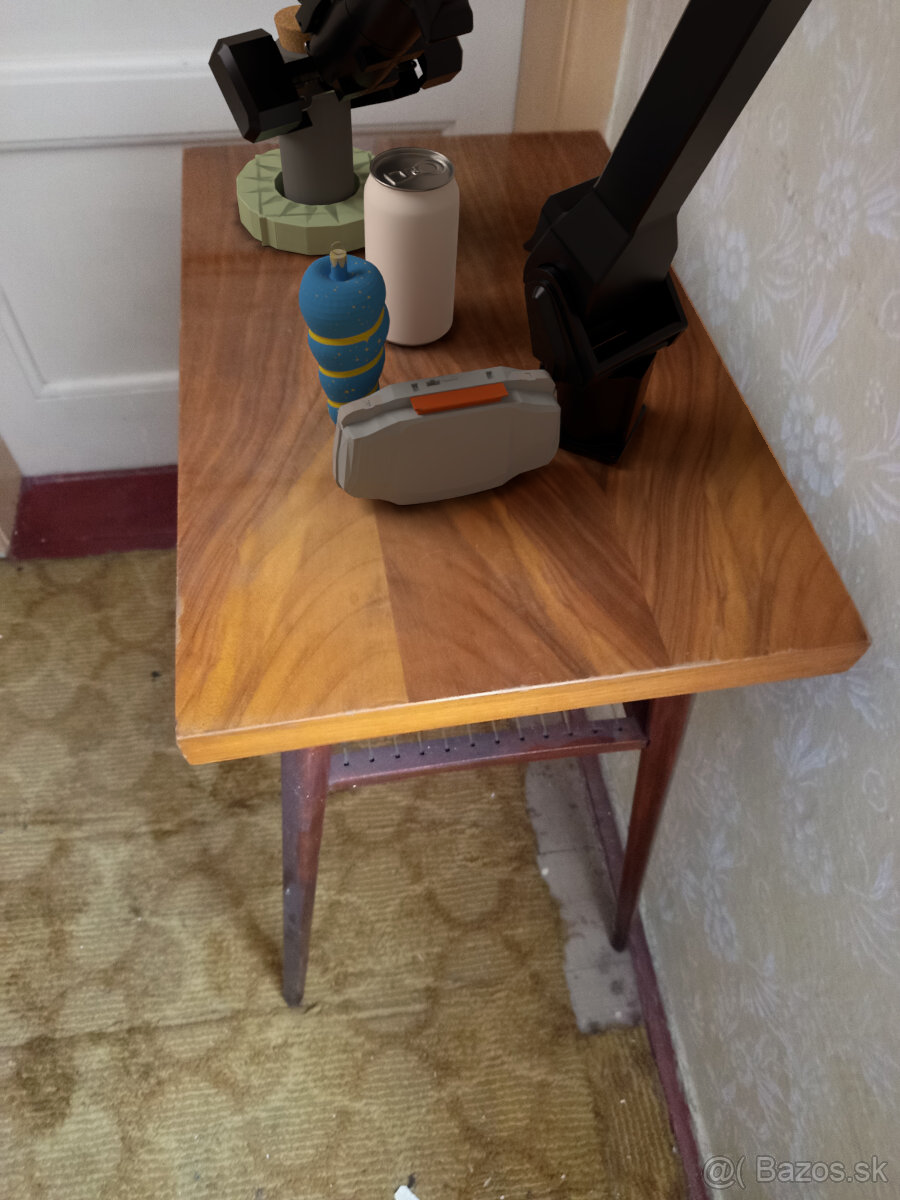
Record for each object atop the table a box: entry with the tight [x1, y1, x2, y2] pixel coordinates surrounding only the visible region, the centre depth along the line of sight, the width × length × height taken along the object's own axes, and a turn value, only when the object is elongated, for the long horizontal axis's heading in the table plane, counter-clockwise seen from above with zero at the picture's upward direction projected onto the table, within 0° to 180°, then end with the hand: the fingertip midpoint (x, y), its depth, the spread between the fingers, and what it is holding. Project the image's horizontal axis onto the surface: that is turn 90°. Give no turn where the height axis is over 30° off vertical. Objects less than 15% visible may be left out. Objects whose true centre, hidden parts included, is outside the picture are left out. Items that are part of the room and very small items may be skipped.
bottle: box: [273, 4, 355, 206], centre depth 72 cm, size 6×6×15 cm
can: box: [364, 146, 461, 347], centre depth 65 cm, size 6×6×12 cm
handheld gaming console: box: [332, 365, 561, 506], centre depth 56 cm, size 14×3×8 cm, turn 107°
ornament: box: [298, 242, 390, 426], centre depth 55 cm, size 5×5×15 cm
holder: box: [235, 146, 376, 256], centre depth 77 cm, size 13×13×2 cm
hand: (304, 114), depth 73 cm, fingers closed on bottle, 6 cm apart
